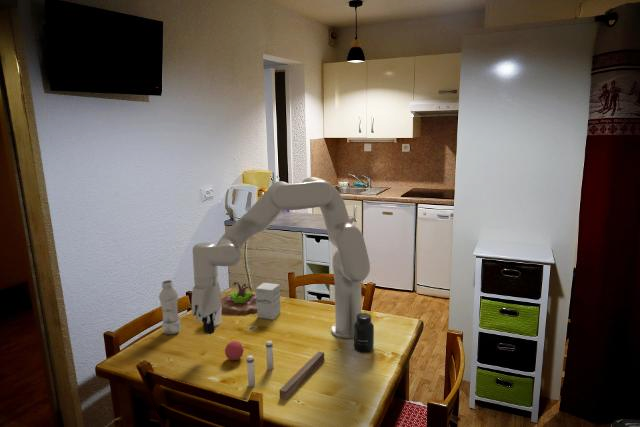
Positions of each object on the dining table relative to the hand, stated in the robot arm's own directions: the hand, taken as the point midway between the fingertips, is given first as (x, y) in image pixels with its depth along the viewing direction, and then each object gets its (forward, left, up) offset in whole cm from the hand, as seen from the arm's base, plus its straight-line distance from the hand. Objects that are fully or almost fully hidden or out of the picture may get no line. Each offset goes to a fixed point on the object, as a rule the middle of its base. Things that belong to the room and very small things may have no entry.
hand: (209, 332), depth 149 cm
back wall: (-36, 0, -8) cm, 37 cm away
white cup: (+15, -19, -8) cm, 26 cm away
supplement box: (-1, -34, -8) cm, 35 cm away
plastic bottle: (+24, -6, -8) cm, 26 cm away
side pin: (-24, +10, -8) cm, 27 cm away
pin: (-24, 0, -8) cm, 25 cm away
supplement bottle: (-46, -24, -8) cm, 53 cm away
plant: (+16, -38, -8) cm, 42 cm away
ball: (-10, 0, -5) cm, 11 cm away
